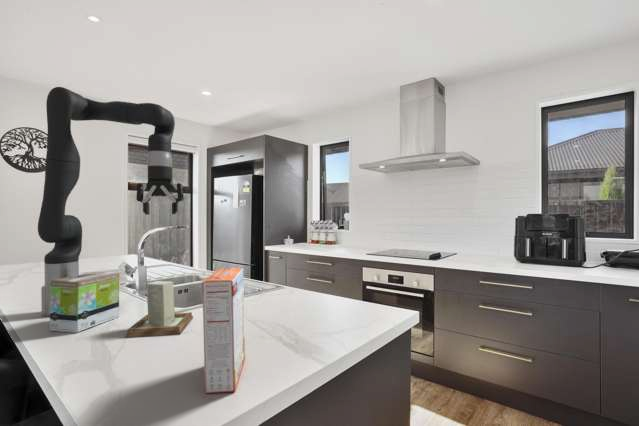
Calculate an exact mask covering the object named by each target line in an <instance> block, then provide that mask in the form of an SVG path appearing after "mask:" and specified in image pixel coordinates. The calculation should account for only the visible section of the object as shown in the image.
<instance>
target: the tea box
mask: <svg viewBox="0 0 639 426" xmlns="http://www.w3.org/2000/svg"><path fill="white" fill-rule="evenodd" d="M119 317H120V272H102V271H95V272H94V271H93V272H89V273H83V274H79V275H77V276H71V277H66V278H61V279H55V280H51V292H50V316H49V331H52V332H60V333H61V332H62V333H73V334H78V333H79V332H82V331H84V330H87V329H89V328H92V327H95V326H98V325H101V324H103V323H107V322H110V321H113V320H115V318H116V319H118V318H119ZM112 319H113V320H112Z"/></svg>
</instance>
